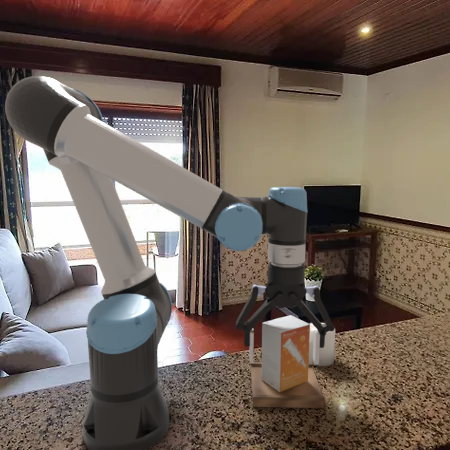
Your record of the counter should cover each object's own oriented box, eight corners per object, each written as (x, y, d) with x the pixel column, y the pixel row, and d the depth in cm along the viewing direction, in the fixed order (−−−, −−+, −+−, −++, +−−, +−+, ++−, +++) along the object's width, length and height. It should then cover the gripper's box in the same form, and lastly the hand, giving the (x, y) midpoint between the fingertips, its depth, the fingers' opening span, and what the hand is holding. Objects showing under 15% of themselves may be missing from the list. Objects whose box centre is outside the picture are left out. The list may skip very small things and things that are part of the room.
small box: (280, 393, 79) (280, 332, 77) (260, 379, 84) (261, 322, 83) (309, 381, 83) (310, 323, 82) (289, 369, 89) (290, 314, 87)
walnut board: (252, 406, 77) (252, 396, 77) (250, 370, 91) (250, 362, 91) (324, 407, 77) (324, 398, 77) (311, 371, 91) (311, 362, 90)
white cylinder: (307, 366, 93) (308, 334, 92) (301, 348, 102) (302, 318, 101) (337, 366, 93) (338, 334, 92) (328, 348, 102) (329, 319, 101)
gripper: (224, 266, 77) (223, 367, 80) (353, 268, 76) (347, 371, 79) (225, 257, 84) (225, 350, 87) (343, 259, 83) (338, 353, 86)
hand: (283, 360), depth 83 cm, fingers open, 13 cm apart
